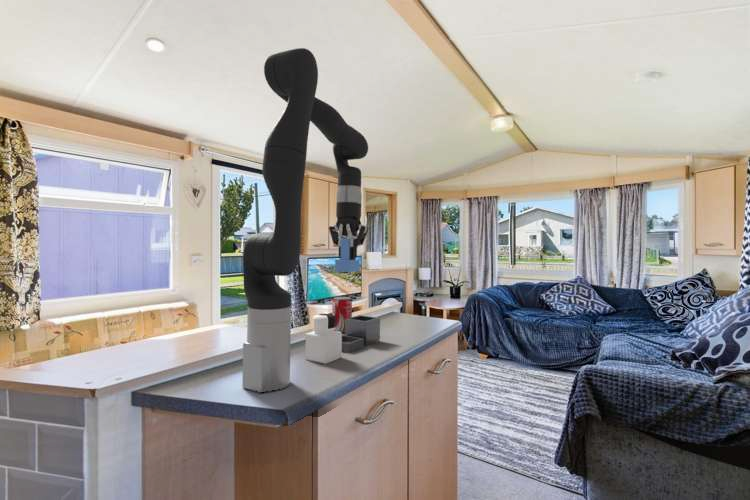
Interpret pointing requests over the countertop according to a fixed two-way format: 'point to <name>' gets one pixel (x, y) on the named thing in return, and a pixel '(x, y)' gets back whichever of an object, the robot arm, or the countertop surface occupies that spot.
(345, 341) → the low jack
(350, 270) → the plug
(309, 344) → the medicine bottle
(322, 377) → the countertop surface
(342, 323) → the soda can
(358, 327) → the grey square tube
